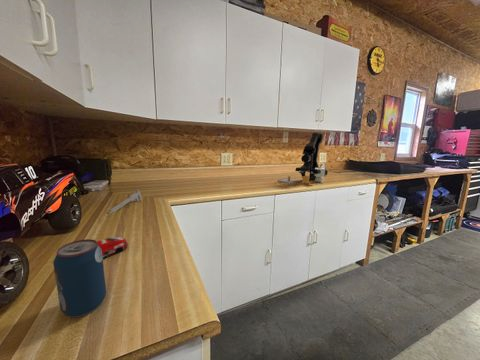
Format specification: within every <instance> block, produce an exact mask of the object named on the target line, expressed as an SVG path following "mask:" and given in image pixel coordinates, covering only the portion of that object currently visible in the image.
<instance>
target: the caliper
mask: <svg viewBox="0 0 480 360" xmlns="http://www.w3.org/2000/svg"><path fill="white" fill-rule="evenodd" d="M134 191H135V192H134V193H132V194H130V195H129V197H128V198H126V199H125V200H123V201H121V202H120V203H118V204H117V205H115V206H114V207H112V208H111V209H110V210H109V211H108V212H107V214H112V213H115V212H116V211H118V210H120V209H121V208H122V207H124V206H125V205H127V204H128V203H130V202H131V203H133V202H134V201H136V202H139V201H142V195H141V194H142V193H141V191H140V190H139V188H138V189H136V190H134Z"/></svg>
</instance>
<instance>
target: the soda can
mask: <svg viewBox="0 0 480 360" xmlns="http://www.w3.org/2000/svg"><path fill="white" fill-rule="evenodd" d="M52 263H53V270H54V277H55V284H56V290H57V295H58V296H57V297H58V304H59V308H60V309H59V310H60V312H61V313H62V314H64V315H66V316H67V317H70V318H79V317H80V318H81V317H83V316H86V315H88V314H90V313H91V314H92V312H94V311H95V310H97V309H98V308H99V307H100V306H101V305H102V303H103V302H104V300H105V297H106V296H107V287H106V277H105V266H104V259H103V257H102V249H101V248H100V247H99V246H98V245H97V240H95V239H90V238H89V239H88V238H87V239H79V240H75V241H71V242H69V243H65V244H63V245H61V246H60V247H59V248H58V249H57V250H56V255H55V257H54V259H53V261H52Z"/></svg>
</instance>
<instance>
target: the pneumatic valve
mask: <svg viewBox="0 0 480 360" xmlns="http://www.w3.org/2000/svg"><path fill="white" fill-rule="evenodd" d="M314 169H318V170H320V171H321V173H320V174H315V175H314V176H316V178H315V180H314V181H316V183H317V182H319V183H321V182H322V181H323V178H324V177H326V176H328V171H329V170H328V169H327V168H326V167H321V166H319V168H314ZM314 169H312V170H314ZM322 177H323V178H322Z"/></svg>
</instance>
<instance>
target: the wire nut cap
mask: <svg viewBox="0 0 480 360" xmlns="http://www.w3.org/2000/svg"><path fill="white" fill-rule="evenodd" d="M309 179H310V176H309V175H306V174H305V176H303V178H302V179H301V183H302V184H306V185H307V184H308V185H309V184H311V183H312V181H311V182H309Z"/></svg>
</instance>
